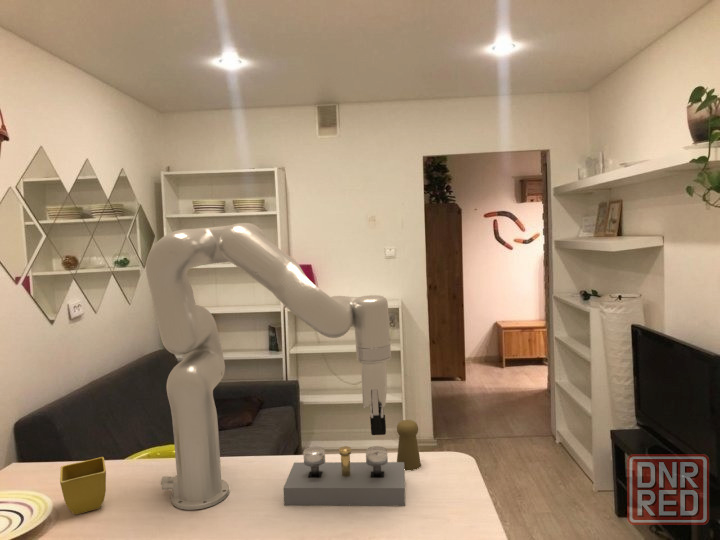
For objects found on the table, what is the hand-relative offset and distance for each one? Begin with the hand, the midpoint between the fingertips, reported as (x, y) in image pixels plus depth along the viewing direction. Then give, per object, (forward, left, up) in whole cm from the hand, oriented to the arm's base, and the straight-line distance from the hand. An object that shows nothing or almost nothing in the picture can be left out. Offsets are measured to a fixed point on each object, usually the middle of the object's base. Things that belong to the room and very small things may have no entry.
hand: (378, 433), depth 121 cm
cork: (+6, +13, -14) cm, 20 cm away
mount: (-8, 0, -14) cm, 16 cm away
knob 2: (-1, 0, -10) cm, 10 cm away
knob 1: (-15, 0, -10) cm, 18 cm away
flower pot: (-65, -7, -14) cm, 66 cm away
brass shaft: (-8, 0, -10) cm, 12 cm away
